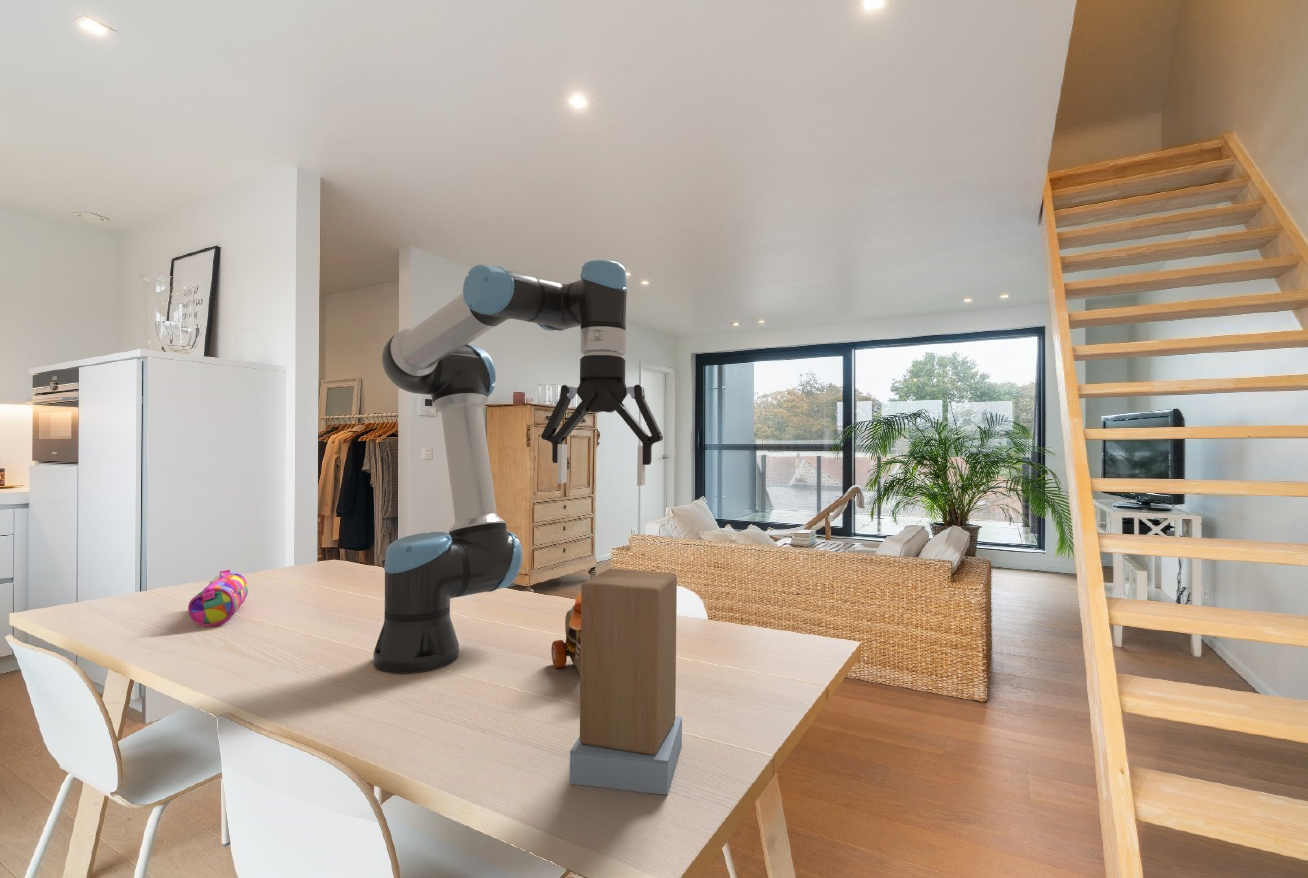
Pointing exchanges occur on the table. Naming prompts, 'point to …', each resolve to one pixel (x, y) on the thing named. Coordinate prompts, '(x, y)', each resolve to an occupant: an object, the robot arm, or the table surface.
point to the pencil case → (219, 599)
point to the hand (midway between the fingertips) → (601, 484)
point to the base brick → (627, 765)
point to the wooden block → (628, 659)
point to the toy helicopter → (569, 638)
